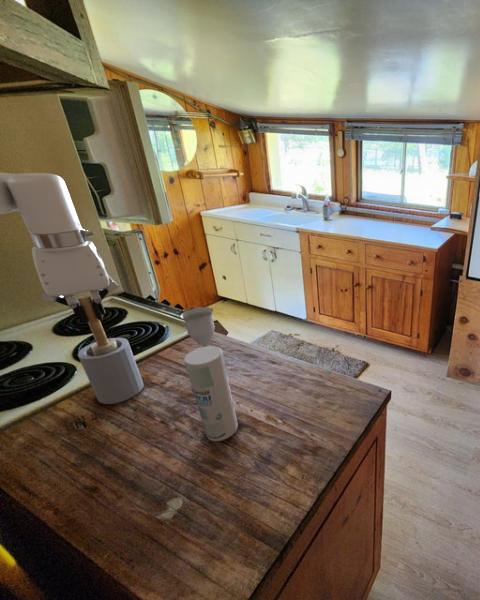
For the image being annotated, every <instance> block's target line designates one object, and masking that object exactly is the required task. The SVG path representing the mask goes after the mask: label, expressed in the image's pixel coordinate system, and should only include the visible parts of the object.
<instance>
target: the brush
mask: <svg viewBox="0 0 480 600" xmlns="http://www.w3.org/2000/svg"><path fill="white" fill-rule="evenodd" d="M77 301H79V303H80V305H81V307H82V309H83V312H84V314H85V316H86V319H87V324H88V326H89V328H90V332H91V334H92V336H93V338H94V340H95V341H94V342H96V343H94V342H93V343H94V344H92V343H91V344H92V345H91V349H92V352H93V354H94V356H99V355H104V354H107V353H110V352H112V351H115V350H117V349H118V346H117V344H116V341H115V340H114V339H110V338H108V337H107V334H106V332H105V329H104V327H103V325H102V322H101V320H98V317H97V315H96V312H95V310H94V307H93V302H92V301H93V298H92V296H91V295H87V294H85V295H81V296H78V297H77Z"/></svg>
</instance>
